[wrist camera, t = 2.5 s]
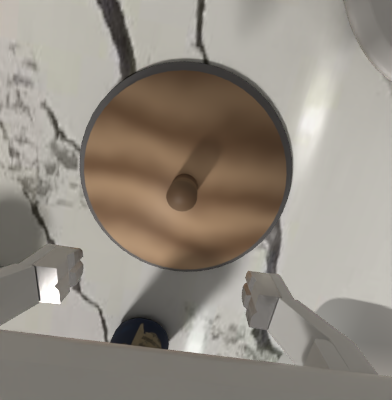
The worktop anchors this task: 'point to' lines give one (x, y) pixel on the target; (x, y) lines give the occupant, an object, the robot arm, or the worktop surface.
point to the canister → (141, 334)
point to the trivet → (210, 70)
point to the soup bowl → (373, 31)
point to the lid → (185, 169)
